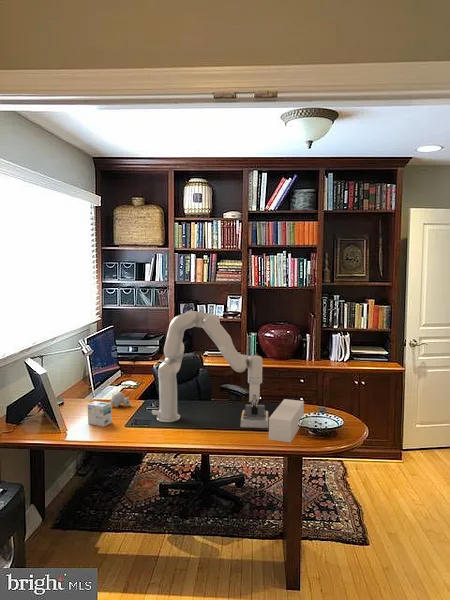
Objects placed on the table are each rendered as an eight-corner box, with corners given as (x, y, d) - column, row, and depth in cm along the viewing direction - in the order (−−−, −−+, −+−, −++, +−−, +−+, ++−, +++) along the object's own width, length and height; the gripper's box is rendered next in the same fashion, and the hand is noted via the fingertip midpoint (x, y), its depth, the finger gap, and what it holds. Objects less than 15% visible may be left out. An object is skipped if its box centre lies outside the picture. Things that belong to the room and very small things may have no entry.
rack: (240, 427, 240) (240, 419, 240) (242, 416, 256) (242, 409, 256) (267, 428, 239) (268, 420, 239) (268, 417, 255) (268, 410, 254)
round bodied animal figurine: (126, 413, 270) (131, 399, 269) (107, 404, 271) (112, 391, 270) (130, 408, 277) (135, 396, 276) (111, 400, 278) (116, 387, 277)
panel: (245, 420, 247) (245, 405, 246) (245, 419, 249) (245, 404, 248) (264, 421, 246) (264, 406, 245) (264, 419, 248) (264, 405, 247)
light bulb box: (112, 423, 247) (111, 402, 246) (103, 427, 241) (103, 406, 240) (96, 420, 251) (95, 400, 250) (87, 424, 245) (87, 403, 244)
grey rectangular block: (290, 442, 221) (291, 420, 220) (268, 439, 224) (268, 418, 223) (303, 420, 251) (303, 401, 250) (284, 418, 254) (284, 399, 253)
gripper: (248, 375, 254) (248, 406, 256) (246, 383, 237) (246, 416, 239) (262, 375, 254) (262, 406, 255) (261, 384, 237) (261, 417, 238)
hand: (254, 411), depth 247 cm, fingers open, 9 cm apart
